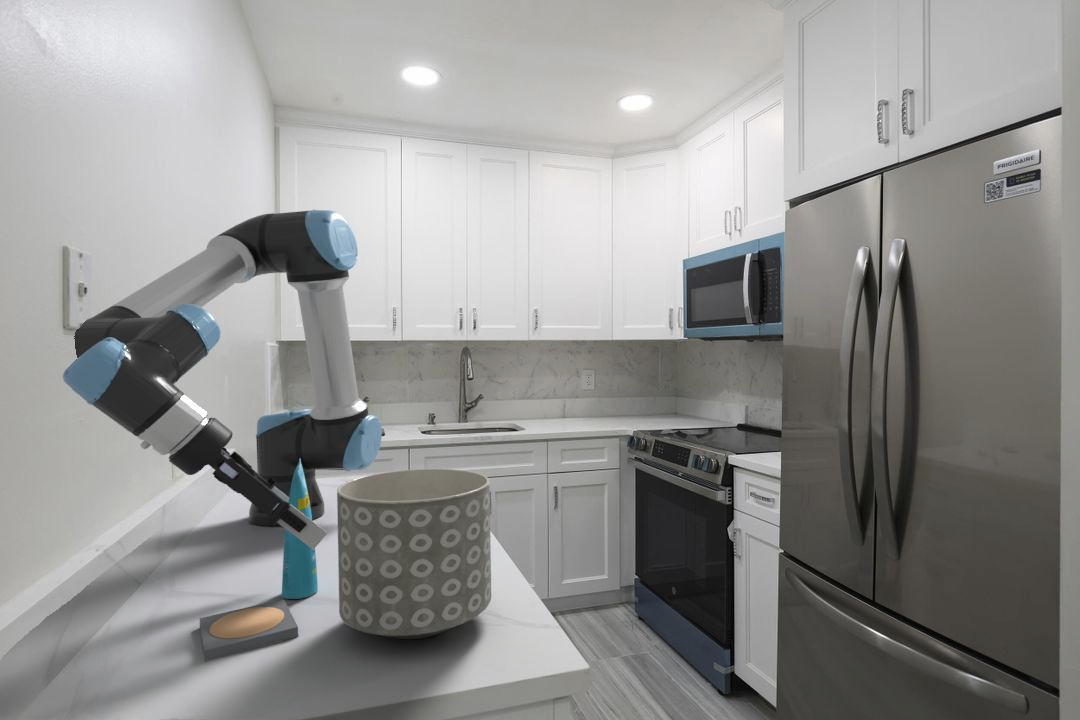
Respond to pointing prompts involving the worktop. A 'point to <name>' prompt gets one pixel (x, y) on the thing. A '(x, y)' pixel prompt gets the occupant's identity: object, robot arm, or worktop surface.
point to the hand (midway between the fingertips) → (309, 529)
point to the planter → (413, 551)
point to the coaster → (246, 629)
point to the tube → (299, 547)
